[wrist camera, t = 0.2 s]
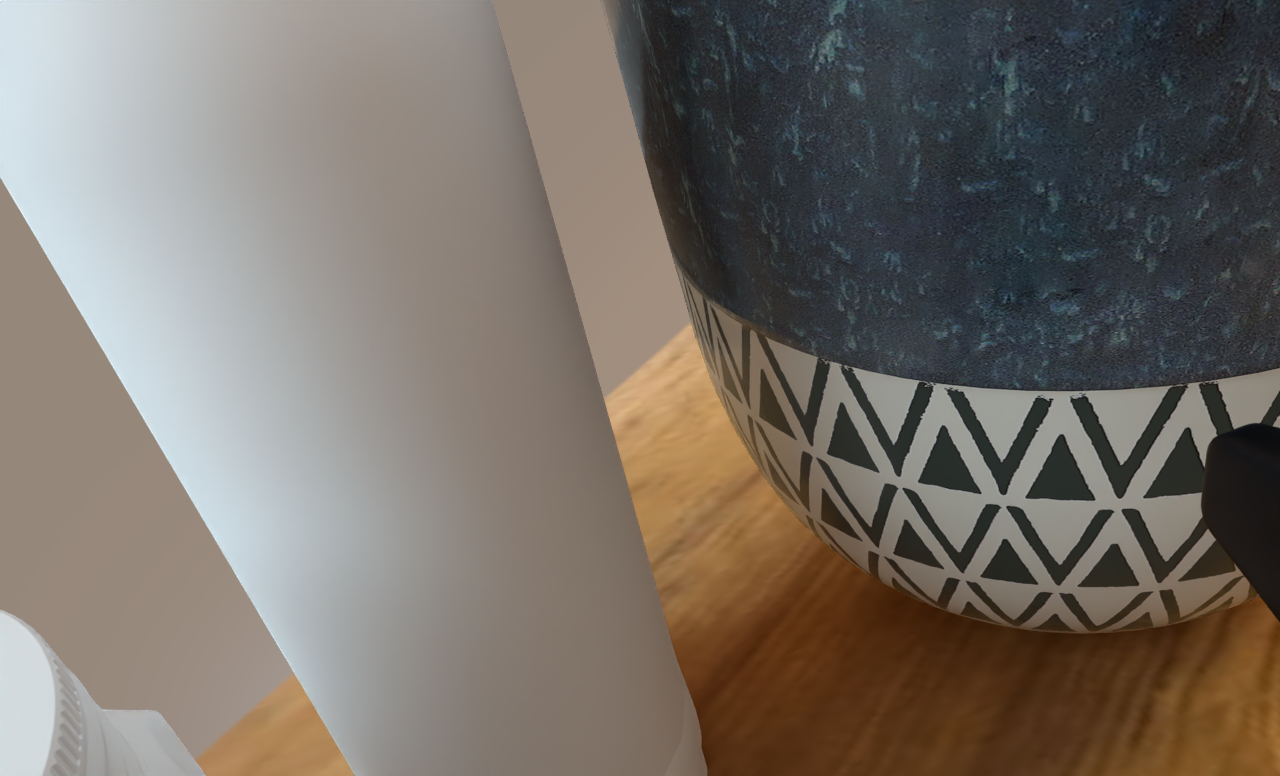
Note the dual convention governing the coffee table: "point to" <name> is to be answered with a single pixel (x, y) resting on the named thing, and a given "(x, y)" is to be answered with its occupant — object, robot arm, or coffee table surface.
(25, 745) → the jar
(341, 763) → the coffee table surface
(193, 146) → the bottle
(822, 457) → the planter
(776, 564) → the coffee table surface
